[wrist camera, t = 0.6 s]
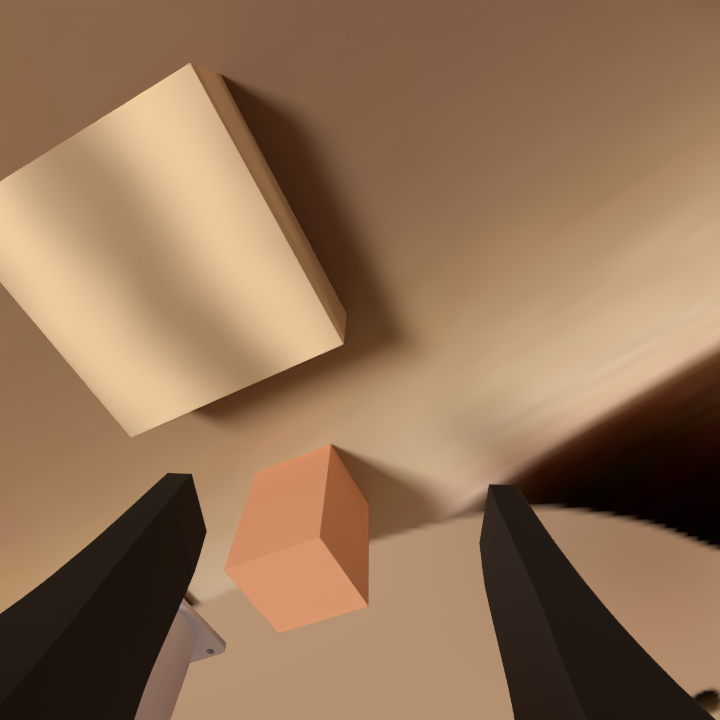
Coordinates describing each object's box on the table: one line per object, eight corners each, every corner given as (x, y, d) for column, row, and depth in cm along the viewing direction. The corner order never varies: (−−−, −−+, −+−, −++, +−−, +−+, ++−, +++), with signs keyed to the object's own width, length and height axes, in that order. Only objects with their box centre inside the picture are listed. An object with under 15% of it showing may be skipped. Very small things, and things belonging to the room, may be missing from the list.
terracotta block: (297, 529, 26) (278, 633, 21) (255, 473, 24) (223, 570, 19) (368, 504, 25) (368, 606, 20) (331, 443, 24) (319, 536, 18)
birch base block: (163, 394, 23) (131, 437, 20) (15, 201, 19) (-56, 215, 16) (347, 311, 21) (343, 344, 18) (223, 75, 17) (189, 62, 14)
